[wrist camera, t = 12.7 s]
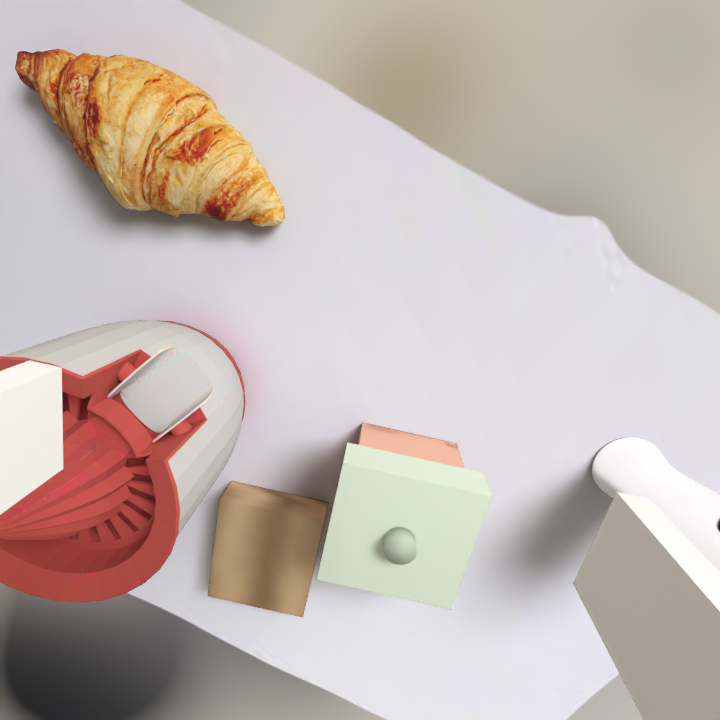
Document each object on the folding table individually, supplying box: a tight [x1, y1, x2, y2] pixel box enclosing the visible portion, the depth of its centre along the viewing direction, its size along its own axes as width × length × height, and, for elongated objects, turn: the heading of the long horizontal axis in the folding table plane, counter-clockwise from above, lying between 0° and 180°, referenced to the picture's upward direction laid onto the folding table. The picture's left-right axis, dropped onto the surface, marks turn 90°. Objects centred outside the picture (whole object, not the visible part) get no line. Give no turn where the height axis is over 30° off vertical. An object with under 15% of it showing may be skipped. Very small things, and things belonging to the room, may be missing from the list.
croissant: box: [15, 49, 285, 227], centre depth 30 cm, size 21×10×8 cm, turn 61°
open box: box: [357, 423, 464, 468], centre depth 37 cm, size 9×9×6 cm
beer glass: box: [592, 437, 720, 572], centre depth 31 cm, size 7×7×15 cm
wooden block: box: [208, 481, 328, 617], centre depth 42 cm, size 10×12×3 cm
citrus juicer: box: [0, 320, 245, 602], centre depth 29 cm, size 16×17×20 cm
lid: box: [317, 442, 492, 610], centre depth 32 cm, size 11×11×4 cm
